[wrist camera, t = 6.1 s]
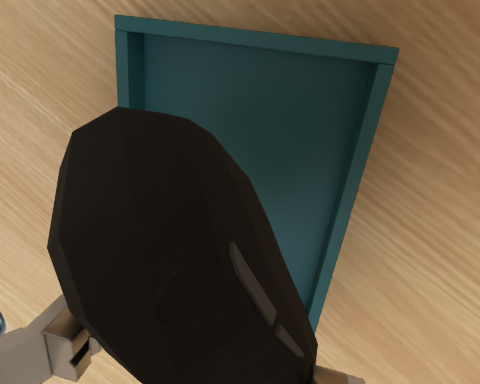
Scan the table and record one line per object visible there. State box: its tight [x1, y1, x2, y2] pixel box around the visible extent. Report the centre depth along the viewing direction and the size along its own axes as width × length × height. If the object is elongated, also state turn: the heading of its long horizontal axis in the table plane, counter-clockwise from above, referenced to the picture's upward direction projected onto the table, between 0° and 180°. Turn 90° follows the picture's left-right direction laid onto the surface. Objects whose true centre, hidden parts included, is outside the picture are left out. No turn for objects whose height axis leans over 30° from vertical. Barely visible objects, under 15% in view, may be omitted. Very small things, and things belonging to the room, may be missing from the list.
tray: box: [114, 14, 399, 334], centre depth 22 cm, size 20×16×2 cm
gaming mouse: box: [47, 106, 318, 384], centre depth 10 cm, size 6×15×4 cm, turn 26°
